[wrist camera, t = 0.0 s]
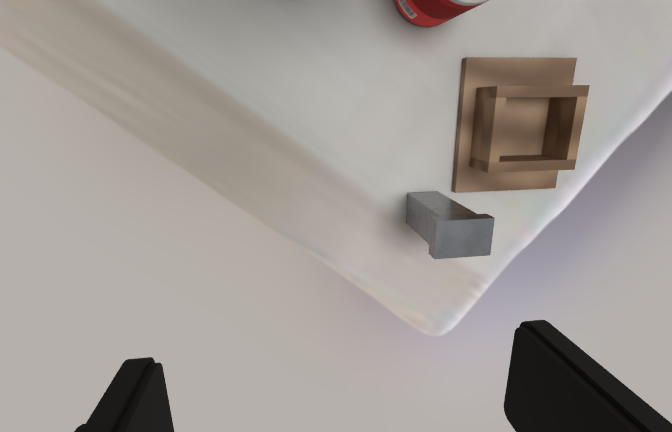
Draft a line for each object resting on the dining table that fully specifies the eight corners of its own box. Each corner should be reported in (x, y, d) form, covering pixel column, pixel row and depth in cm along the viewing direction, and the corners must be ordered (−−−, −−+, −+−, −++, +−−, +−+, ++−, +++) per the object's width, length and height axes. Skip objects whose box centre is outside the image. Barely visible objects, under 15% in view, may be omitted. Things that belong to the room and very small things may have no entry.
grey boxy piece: (399, 193, 47) (437, 221, 36) (444, 191, 48) (494, 218, 37) (398, 222, 49) (434, 259, 37) (442, 220, 49) (490, 255, 38)
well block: (462, 58, 44) (487, 52, 38) (570, 58, 45) (608, 53, 40) (451, 190, 48) (472, 201, 43) (550, 186, 50) (581, 195, 45)
